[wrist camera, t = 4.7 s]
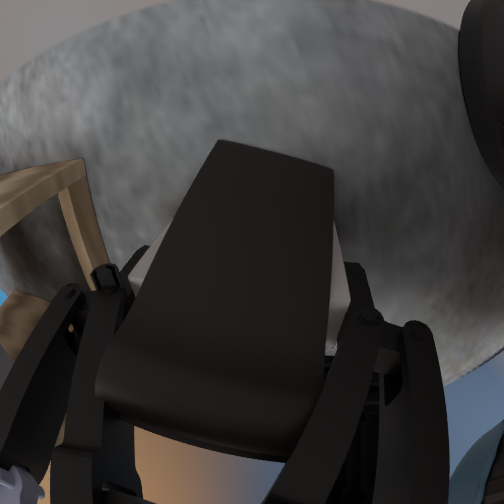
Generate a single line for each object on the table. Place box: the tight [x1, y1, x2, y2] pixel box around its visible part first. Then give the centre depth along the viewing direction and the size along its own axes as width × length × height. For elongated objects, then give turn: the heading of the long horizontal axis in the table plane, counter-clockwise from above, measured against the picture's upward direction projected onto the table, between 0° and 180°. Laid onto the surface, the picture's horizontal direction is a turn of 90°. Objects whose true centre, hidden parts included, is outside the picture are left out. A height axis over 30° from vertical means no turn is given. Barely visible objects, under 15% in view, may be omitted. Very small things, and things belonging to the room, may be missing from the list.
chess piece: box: [324, 356, 380, 504], centre depth 15 cm, size 8×8×20 cm
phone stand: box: [95, 140, 334, 463], centre depth 11 cm, size 9×6×12 cm, turn 167°
